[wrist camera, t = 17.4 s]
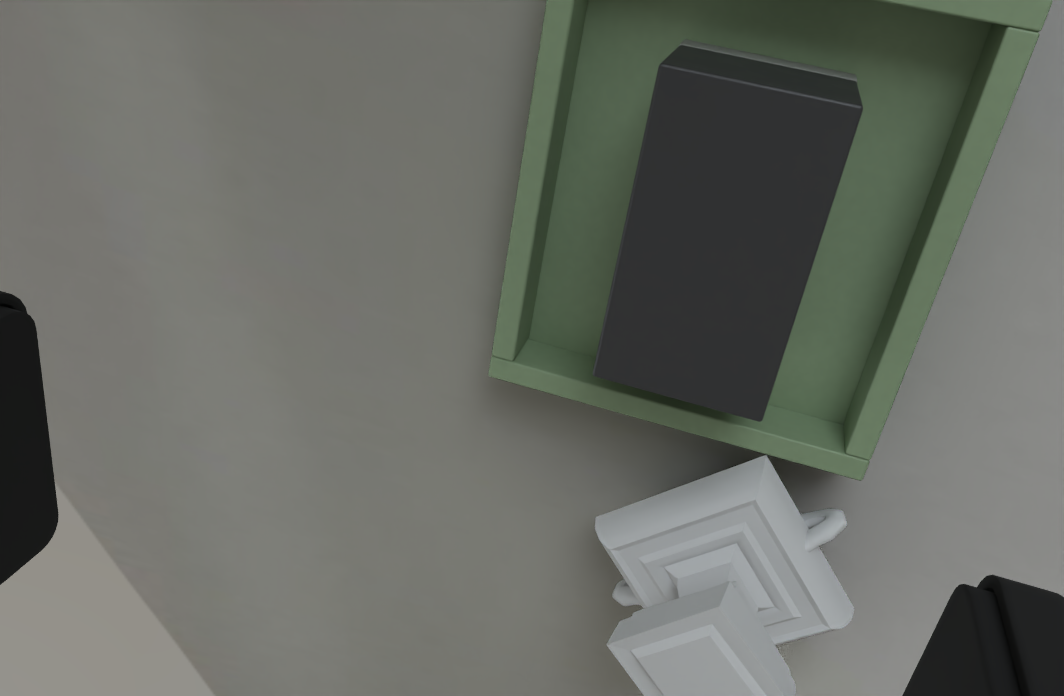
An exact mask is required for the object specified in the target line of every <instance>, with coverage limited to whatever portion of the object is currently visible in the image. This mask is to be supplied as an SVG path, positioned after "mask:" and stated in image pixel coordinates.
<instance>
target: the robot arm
mask: <svg viewBox="0 0 1064 696" xmlns="http://www.w3.org/2000/svg"><path fill="white" fill-rule="evenodd" d="M57 523H58V507H57V499H56V490H55V482H54V474H53V465H52V457H51V448H50V440H49V432H48V423H47V415H46V406H45V398H44V390H43V381H42V373H41V365H40V356H39V348H38V339H37V331H36V326H35V323H34V320H33V319H32V318H31V316H30V315H28V314H27V311H26V307H25V306H24V304H23V303H22V301H21V300H20V299H19V298H17V297H16V296H14V295H12V294H9V293H5V292H2V291H0V585H1V584H2V583H3V582H4V581H6V580H7V579H8V578H9V577H10V576H12V575H13V574H14V573H15V572H16V571H18V570H19V569H20V568H21V567H22V566H23V565H25V564H26V563H27V562H28V561H29V560H31V559H32V558H33V557H34V556H35V555H37V554H38V553H39V552H40V551H41V550H42V549H43V548H44V547H45V546H46V545H47V544H48V543H49V541H50V540H51V538H52V537H53V535H54V532H55V530H56V527H57ZM903 696H1064V597H1062V596H1061V595H1059V594H1058V593H1054V592H1051V591H1047V590H1044V589H1040V588H1037V587H1033V586H1030V585H1026V584H1023V583H1019V582H1016V581H1012V580H1009V579H1005V578H1002V577H998V576H995V575H990V576H986V577H985V578H984V579H983V580H982V581H981V582H980V583H979V585H978V587H977V588H976V587H973V586H969V585H966V584H961V585H959V586H958V587H957V588H956V589H955V590H954V592H953V594H952V595H951V597H950V599H949V601H948V603H947V605H946V607H945V609H944V612H943V614H942V616H941V618H940V620H939V622H938V624H937V626H936V628H935V630H934V632H933V634H932V636H931V638H930V640H929V642H928V644H927V646H926V648H925V650H924V653H923V655H922V657H921V659H920V661H919V663H918V665H917V667H916V669H915V671H914V673H913V675H912V677H911V679H910V681H909V683H908V685H907V687H906V689H905V692H904V694H903Z"/></svg>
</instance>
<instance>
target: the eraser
mask: <svg viewBox="0 0 1064 696" xmlns="http://www.w3.org/2000/svg"><path fill="white" fill-rule="evenodd" d="M857 83H858V82H857V77H856V75H855V74H852V73H847V72H842V71H837V70H832V69H827V68H823V67H818V66H813V65H808V64H803V63H798V62H793V61H789V60H784V59H779V58H774V57H769V56H764V55H760V54H755V53H750V52H745V51H740V50H735V49H730V48H726V47H721V46H716V45H711V44H706V43H701V42H696V41H692V40H687V39H685V40H683V41H682V42H681V43H680V44H679V46H678V47H677V48H676V49H675V50H674V51H673V52H672V53H671V54H670V55H669V56H668V57H667V58H666V59H665V60H664V61H662V62H661V63H660V65H659V67H658V71H657V76H656V81H655V85H654V90H653V95H652V99H651V104H650V109H649V113H648V118H647V122H646V127H645V132H644V136H643V141H642V146H641V150H640V155H639V160H638V164H637V169H636V173H635V178H634V183H633V187H632V192H631V197H630V201H629V206H628V210H627V215H626V220H625V224H624V229H623V234H622V238H621V243H620V248H619V252H618V257H617V261H616V266H615V271H614V275H613V280H612V285H611V289H610V294H609V298H608V303H607V308H606V312H605V317H604V322H603V326H602V331H601V336H600V340H599V345H598V349H597V354H596V359H595V363H594V368H593V376H595V377H598V378H602V379H605V380H609V381H613V382H616V383H620V384H624V385H627V386H631V387H634V388H638V389H642V390H645V391H649V392H653V393H656V394H660V395H664V396H667V397H671V398H674V399H678V400H682V401H685V402H689V403H693V404H696V405H700V406H703V407H707V408H711V409H714V410H718V411H722V412H725V413H729V414H733V415H736V416H740V417H743V418H747V419H751V420H754V421H758V422H761V421H762V420H763V417H764V414H765V411H766V408H767V405H768V402H769V399H770V396H771V393H772V390H773V386H774V383H775V380H776V377H777V374H778V371H779V368H780V365H781V362H782V359H783V356H784V352H785V349H786V346H787V343H788V340H789V337H790V334H791V331H792V328H793V325H794V322H795V318H796V315H797V312H798V309H799V306H800V303H801V300H802V297H803V294H804V291H805V288H806V284H807V281H808V278H809V275H810V272H811V269H812V266H813V263H814V260H815V257H816V254H817V250H818V247H819V244H820V241H821V238H822V235H823V232H824V229H825V226H826V223H827V220H828V216H829V213H830V210H831V207H832V204H833V201H834V198H835V195H836V192H837V189H838V186H839V182H840V179H841V176H842V173H843V170H844V167H845V164H846V161H847V158H848V155H849V152H850V149H851V145H852V142H853V139H854V136H855V133H856V130H857V127H858V124H859V121H860V118H861V115H862V111H863V105H862V101H861V97H860V93H859V89H858V85H857Z"/></svg>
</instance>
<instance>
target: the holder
mask: <svg viewBox="0 0 1064 696" xmlns="http://www.w3.org/2000/svg"><path fill="white" fill-rule="evenodd" d="M1051 4H1052V0H547V2H546V8H545V14H544V21H543V27H542V34H541V40H540V47H539V53H538V59H537V66H536V72H535V79H534V85H533V91H532V98H531V104H530V111H529V117H528V124H527V130H526V136H525V143H524V149H523V156H522V162H521V169H520V175H519V181H518V188H517V194H516V201H515V207H514V214H513V220H512V226H511V233H510V239H509V246H508V252H507V259H506V265H505V271H504V278H503V284H502V291H501V297H500V303H499V310H498V316H497V323H496V329H495V336H494V342H493V348H492V357H491V361H490V367H489V376H490V377H493V378H497V379H500V380H504V381H507V382H511V383H514V384H518V385H521V386H525V387H529V388H532V389H536V390H539V391H543V392H546V393H550V394H553V395H557V396H561V397H564V398H568V399H571V400H575V401H578V402H582V403H585V404H589V405H593V406H596V407H600V408H603V409H607V410H610V411H614V412H617V413H621V414H625V415H628V416H632V417H635V418H639V419H642V420H646V421H650V422H653V423H657V424H660V425H664V426H667V427H671V428H674V429H678V430H682V431H685V432H689V433H692V434H696V435H699V436H703V437H706V438H710V439H714V440H717V441H721V442H724V443H728V444H731V445H735V446H738V447H742V448H746V449H749V450H753V451H756V452H760V453H763V454H767V455H770V456H774V457H778V458H781V459H785V460H788V461H792V462H795V463H799V464H803V465H806V466H810V467H813V468H817V469H820V470H824V471H827V472H831V473H835V474H838V475H842V476H845V477H849V478H852V479H856V480H859V481H861V480H862V479H863V477H864V475H865V472H866V470H867V467H868V465H869V460H870V459H871V457H872V455H873V452H874V450H875V447H876V445H877V442H878V440H879V437H880V435H881V432H882V430H883V427H884V425H885V422H886V420H887V417H888V415H889V412H890V410H891V407H892V405H893V402H894V399H895V397H896V394H897V392H898V389H899V387H900V384H901V382H902V379H903V377H904V374H905V372H906V369H907V367H908V364H909V362H910V359H911V357H912V354H913V352H914V349H915V347H916V344H917V342H918V339H919V337H920V334H921V332H922V329H923V327H924V324H925V321H926V319H927V316H928V314H929V311H930V309H931V306H932V304H933V301H934V299H935V296H936V294H937V291H938V289H939V286H940V284H941V281H942V279H943V276H944V274H945V271H946V269H947V266H948V264H949V261H950V259H951V256H952V254H953V251H954V249H955V246H956V244H957V241H958V238H959V236H960V233H961V231H962V228H963V226H964V223H965V221H966V218H967V216H968V213H969V211H970V208H971V206H972V203H973V201H974V198H975V196H976V193H977V191H978V188H979V186H980V183H981V181H982V178H983V176H984V173H985V171H986V168H987V166H988V163H989V161H990V158H991V155H992V153H993V150H994V148H995V145H996V143H997V140H998V138H999V135H1000V133H1001V130H1002V128H1003V125H1004V123H1005V120H1006V118H1007V115H1008V113H1009V110H1010V108H1011V105H1012V103H1013V100H1014V98H1015V95H1016V93H1017V90H1018V88H1019V85H1020V83H1021V80H1022V77H1023V75H1024V72H1025V70H1026V67H1027V65H1028V62H1029V60H1030V57H1031V55H1032V52H1033V50H1034V47H1035V45H1036V42H1037V40H1038V37H1039V33H1038V32H1039V31H1040V30H1041V29H1042V27H1043V25H1044V22H1045V19H1046V17H1047V14H1048V12H1049V9H1050V7H1051ZM685 39H687V40H692V41H696V42H701V43H706V44H711V45H716V46H721V47H726V48H730V49H735V50H740V51H745V52H750V53H755V54H760V55H764V56H769V57H774V58H779V59H784V60H789V61H793V62H798V63H803V64H808V65H813V66H818V67H823V68H827V69H832V70H837V71H842V72H847V73H852V74H855V75H856V77H857V82H858V83H857V85H858V89H859V93H860V97H861V101H862V105H863V111H862V115H861V118H860V121H859V124H858V127H857V130H856V133H855V136H854V139H853V142H852V145H851V149H850V152H849V155H848V158H847V161H846V164H845V167H844V170H843V173H842V176H841V179H840V182H839V186H838V189H837V192H836V195H835V198H834V201H833V204H832V207H831V210H830V213H829V216H828V220H827V223H826V226H825V229H824V232H823V235H822V238H821V241H820V244H819V247H818V250H817V254H816V257H815V260H814V263H813V266H812V269H811V272H810V275H809V278H808V281H807V284H806V288H805V291H804V294H803V297H802V300H801V303H800V306H799V309H798V312H797V315H796V318H795V322H794V325H793V328H792V331H791V334H790V337H789V340H788V343H787V346H786V349H785V352H784V356H783V359H782V362H781V365H780V368H779V371H778V374H777V377H776V380H775V383H774V386H773V390H772V393H771V396H770V399H769V402H768V405H767V408H766V411H765V414H764V417H763V420H762V421H761V422H758V421H754V420H751V419H747V418H743V417H740V416H736V415H733V414H729V413H725V412H722V411H718V410H714V409H711V408H707V407H703V406H700V405H696V404H693V403H689V402H685V401H682V400H678V399H674V398H671V397H667V396H664V395H660V394H656V393H653V392H649V391H645V390H642V389H638V388H634V387H631V386H627V385H624V384H620V383H616V382H613V381H609V380H605V379H602V378H598V377H595V376H593V368H594V363H595V359H596V354H597V349H598V345H599V340H600V336H601V331H602V326H603V322H604V317H605V312H606V308H607V303H608V298H609V294H610V289H611V285H612V280H613V275H614V271H615V266H616V261H617V257H618V252H619V248H620V243H621V238H622V234H623V229H624V224H625V220H626V215H627V210H628V206H629V201H630V197H631V192H632V187H633V183H634V178H635V173H636V169H637V164H638V160H639V155H640V150H641V146H642V141H643V136H644V132H645V127H646V122H647V118H648V113H649V109H650V104H651V99H652V95H653V90H654V85H655V81H656V76H657V71H658V67H659V65H660V63H661V62H662V61H664V60H665V59H666V58H667V57H668V56H669V55H670V54H671V53H672V52H673V51H674V50H675V49H676V48H677V47H678V46H679V44H680V43H681V42H682V41H683V40H685Z"/></svg>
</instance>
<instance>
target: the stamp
mask: <svg viewBox="0 0 1064 696" xmlns="http://www.w3.org/2000/svg"><path fill="white" fill-rule="evenodd" d="M846 526H847V522H846V517H845V513H844V512H843V511H842V510H839V509H831V508H830V509H823V510H818V511H813V512H808V513H803V514H800V513H799V511H798V509H797V508H796V506H795V504H794V502H793V501H792V499H791V497H790V495H789V494H788V492H787V490H786V488H785V487H784V485H783V483H782V481H781V480H780V478H779V476H778V474H777V473H776V471H775V469H774V467H773V466H772V464H771V462H770V460H769V459H768V457H767V455H764V456H761V457H759V458H756V459H753V460H751V461H748V462H745V463H742V464H740V465H737V466H734V467H731V468H729V469H726V470H723V471H720V472H718V473H715V474H712V475H710V476H707V477H704V478H701V479H699V480H696V481H693V482H690V483H688V484H685V485H682V486H679V487H677V488H674V489H671V490H668V491H666V492H663V493H660V494H658V495H655V496H652V497H649V498H647V499H644V500H641V501H638V502H636V503H633V504H630V505H627V506H625V507H622V508H619V509H616V510H614V511H611V512H608V513H606V514H603V515H600V516H597V517H596V522H595V530H596V532H597V535H598V538H599V540H600V542H601V543H602V545H603V546H604V548H605V550H606V551H607V553H608V554H609V556H610V557H611V559H612V561H613V562H614V564H615V565H616V567H617V568H618V570H619V571H620V573H621V575H622V576H623V578H624V579H623V580H621V581H620V582H618V583H617V584H616V586H615V589H614V591H613V595H612V596H613V598H614V599H615V600H616V601H617V602H619V603H620V604H621V605H623V606H631V605H641V606H642V607H643V609H641V610H639V611H636V612H634V613H633V615H632V617H629V618H626V619H624V620H621V621H620V622H619V623H618V625H617V627H616V629H615V630H614V632H613V634H612V636H611V637H610V639H609V641H608V642H607V644H606V645H607V646H608V648H609V649H610V650H611V652H612V653H613V654H614V656H615V657H616V658H617V660H618V661H619V662H620V664H621V665H622V666H623V668H624V669H625V671H626V672H627V673H628V675H629V676H630V677H631V679H632V680H633V681H634V683H635V684H636V685H637V687H638V688H639V689H640V691H641V692H642V693H643V695H644V696H796V688H795V681H794V680H793V678H792V676H791V675H790V669H789V667H788V666H787V664H786V663H785V661H784V659H783V658H782V656H781V654H780V653H779V651H778V649H777V648H776V645H780V644H784V643H788V642H791V641H795V640H799V639H803V638H806V637H810V636H814V635H818V634H821V633H825V632H829V631H833V630H836V629H840V628H844V627H845V626H846V625H847V624H848V623H849V622H850V621H851V620H852V618H853V612H854V607H853V605H852V603H851V602H850V600H849V598H848V596H847V595H846V593H845V591H844V590H843V588H842V586H841V584H840V583H839V581H838V579H837V577H836V576H835V574H834V572H833V570H832V569H831V567H830V565H829V563H828V562H827V560H826V558H825V556H824V555H823V553H822V551H821V549H820V548H819V546H820V545H822V544H825V543H827V542H830V541H832V540H833V539H834V538H835V537H836V536H837V535H838V534H839V533H840V532H841V531H842V530H843V529H844V528H845V527H846Z"/></svg>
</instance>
